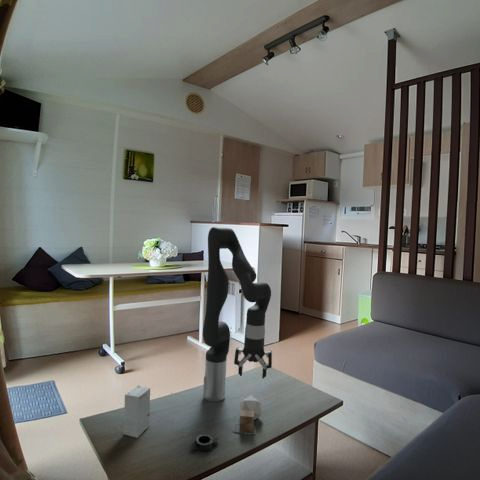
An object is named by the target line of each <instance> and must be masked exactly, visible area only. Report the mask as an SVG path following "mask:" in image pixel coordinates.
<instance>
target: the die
mask: <svg viewBox="0 0 480 480" xmlns="http://www.w3.org/2000/svg"><path fill="white" fill-rule="evenodd" d="M239 410H240V411H239V414H241V410H246V411H254V421H255V420H256V419H258V418H259V417H260V416H262V413H263V411H262V410H263V408H262V403H261V401H259V400H258V399H257V398H256V397H254V395H252V394H250V395H249V396H248V397H246V398H245V399H243V400H241V402H240V404H239Z"/></svg>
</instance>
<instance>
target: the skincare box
mask: <svg viewBox="0 0 480 480" xmlns="http://www.w3.org/2000/svg"><path fill="white" fill-rule="evenodd" d="M150 408H151V387H147V386H142V385H137V386H135V387H134V388H132V389H130V390H129V392H127V393H126V394H124V414H123V418H124V419H123V434H124V435H125V436H129V437H131V438H136V439H139V437H140V436H141V434H142V433H143V432H144V431H146V429H148V428H149V427H150V421H151V420H150V417H151V416H150V415H151V413H150V412H151V411H150V410H151V409H150Z"/></svg>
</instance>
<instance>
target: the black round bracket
mask: <svg viewBox="0 0 480 480" xmlns="http://www.w3.org/2000/svg"><path fill="white" fill-rule="evenodd" d="M218 441H220V439H219V438H218V437H216V438H214V439H213V437H212V436H211V435H210V434H200V435H198V436H197V437H196V438H195V440H194V441H192V443H191V444H190V445H189V446H188V449H189V450H190V451H191V452H193V451H195V450H196V451H198V452H199V453H203V454H204V453H208V452H211V451H212V449H213V448H214V447H213V445H214V443H216V442H218Z"/></svg>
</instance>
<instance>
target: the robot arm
mask: <svg viewBox="0 0 480 480" xmlns="http://www.w3.org/2000/svg"><path fill="white" fill-rule="evenodd" d="M221 249H222V250H223V249H224V250H225V249H227V250H229V252H230V253H231V255H232V259H231V268H232V271H233V273H234V275H235V276H236V278H237V280H238V281H239V283H240V287H241V291H242V292H241V293H242V295H243V299H245V300H246V301H247V302H249V303H255V304H254V305H252V306H251V307H248V308H247V311H246V319H245V320H246V321H245V322H246V323H245V328H244V341H243V342H244V344H243V348H240V347H239V346H238V347H236V349H235V353H234V359H233V360H234V361H233V364H234V365H237V366H238V370H237V371H238V372H237V373H238V375H239V377H242V376H243V368H244V367H243V366H244V364H246V363H247V361H248V362H249V363H252V362H253V363H259V364H260V366H261V367H262V376H261V377H262V378H261V379H265V378H266V377H267V370H268V369H272V367H273V366H272V364H273V361H272V360H273V355H272V354H273V351H272V350H268V351H265V338H266V337H265V335H266V326H265V325H266V312H267V310H268V307H269V304H270V301H271V297H272V289H271V287H270V284H268V283H267V282H264V281H263V282H262V281H261V282H255V281H256V279H257V272H256V271H255V270H254V268H253V267H252V265H251V264H250V262H249V260H248V259H247V257H246V256H245V253H244V251H243V247H242V246H241V243H240V241H239V239H238V237H237V234H236V232H235V231H234V230H233V228H231V227H226V226H225V227H224V226H223V227H222V226H214V227H211V228H210V229H209V231H208V234H207V255H208V257H207V258H208V259H207V260H208V263H207V264H208V266H207V267H208V269H207V282H206V284H207V285H206V305H205V313H204V314H205V315H204V319H203V320H204V321H203V330H202V338H203V342H204V343H205V344H206V346H209V348H208V350H206V352H205V364H204V365H205V369H204V376H203V389H202V390H203V391H202V392H203V393H202V399H204V400H206V401H208V402H214V403H216V402H217V403H218V402H221V401H223V400H224V399H225V397H226V381H227V379H226V377H227V376H226V375H227V359H228V355H229V352H230V340H231V330H230V328H229V324H228V323H227V322H225V321H220V320H219V319H220V315H221V311H222V310H223V309H222V308H223V307H224V305H225V303H226V300H227V298H228V295H229V285H230V284H229V283H230V282H229V276H228V274H227V272H226V270H225V268H224V266H223V264H222V260H221V255H220V254H221V253H220V250H221ZM241 353H242V354H243V357H242V358H241V360H239V356H240V355H241ZM264 356H266V358H267V359H268V362H267V363H266V361H265V359H264Z"/></svg>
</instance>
